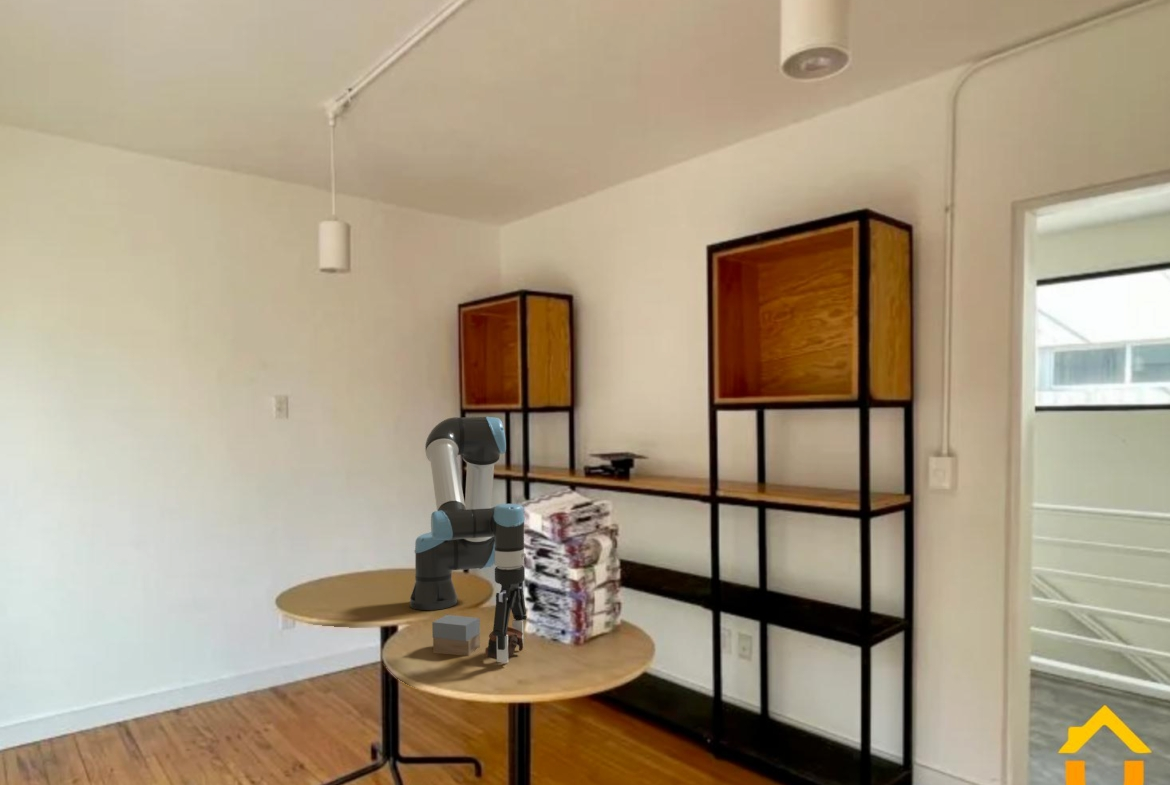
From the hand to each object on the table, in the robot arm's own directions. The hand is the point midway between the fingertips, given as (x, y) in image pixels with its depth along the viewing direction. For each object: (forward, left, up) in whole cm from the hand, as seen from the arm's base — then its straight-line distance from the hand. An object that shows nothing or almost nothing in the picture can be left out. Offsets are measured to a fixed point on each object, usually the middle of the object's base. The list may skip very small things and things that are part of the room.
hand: (510, 653), depth 174 cm
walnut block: (-4, -16, -1) cm, 17 cm away
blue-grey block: (-3, -16, +3) cm, 17 cm away
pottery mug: (+1, -1, -1) cm, 1 cm away
